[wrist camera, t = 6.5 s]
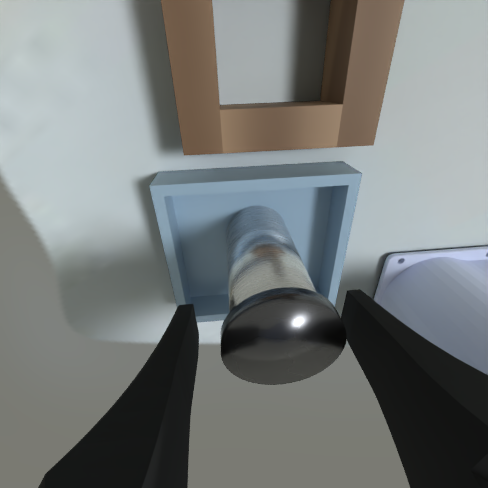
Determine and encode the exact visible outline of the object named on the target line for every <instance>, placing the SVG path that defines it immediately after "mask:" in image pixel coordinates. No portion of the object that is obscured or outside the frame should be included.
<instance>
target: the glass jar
mask: <svg viewBox="0 0 488 488" xmlns="http://www.w3.org/2000/svg"><path fill="white" fill-rule="evenodd" d="M226 249H227V269H228V290H229V310H230V313H229V314H228V315H227V317H226V318H225V320H224V322H223V325H222V328H221V357H222V361H223V363H224V365H225V366H226V368H227V369H228V370H229V371H230V372H231V373H233V374H234V375H235V376H237V377H239V378H241V379H243V380H246V381H249V382H252V383H258V384H268V385H269V384H270V385H276V384H286V383H292V382H296V381H300V380H303V379H306V378H309V377H311V376H313V375H315V374H317V373H319V372H321V371H322V370H324V369H325V368H327V367H328V366H330V365H331V364H332V363H333V362H334V361H335V360H336V359H337V358H338V356H339V355H340V354H341V352H342V351H343V349H344V346H345V344H346V339H347V338H346V329H345V326H344V324H343V322H342V320H341V318H340V316H339V314H338V312H337V310H336V309H335V307H334V305H333V304H332V303H331V302H330V301H329V300H328V299H327V298H326V297H324V296H323V295H321V294H319V293H317V292H316V290H315V288H314V285H313V283H312V281H311V279H310V277H309V275H308V272H307V270H306V268H305V266H304V264H303V261H302V259H301V257H300V255H299V253H298V251H297V248H296V246H295V244H294V242H293V240H292V237H291V235H290V233H289V231H288V229H287V227H286V224H285V222H284V220H283V218H282V217H281V215H280V214H279V213H277V212H276V211H275V210H273V209H271V208H269V207H265V206H251V207H247V208H244V209H242V210H240V211H239V212H237V213H236V214H235V215H234V216H233V217H232V218H231V220H230V221H229V223H228V225H227V228H226Z"/></svg>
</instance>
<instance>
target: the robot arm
mask: <svg viewBox="0 0 488 488" xmlns="http://www.w3.org/2000/svg"><path fill="white" fill-rule="evenodd" d="M399 259H400V260H399ZM398 260H399V261H398ZM341 320H342V322H343V324H344V326H345V329H346V338H347V341H348V343H349V345H350V347H351V349H352V351H353V353H354V355H355V356H356V358H357V360H358V362H359V364H360V366H361V368H362V370H363V371H364V374H365V376H366V378H367V379H368V381H369V383H370V385H371V387H372V389H373V391H374V393H375V395H376V398H377V400H378V402H379V404H380V407H381V409H382V412H383V414H384V417H385V419H386V422H387V424H388V427H389V429H390V432H391V435H392V437H393V440H394V442H395V445H396V448H397V451H398V453H399V456H400V459H401V462H402V464H403V467H404V470H405V473H406V476H407V478H408V482H409V485H410V488H488V246H484V247H471V248H458V249H446V250H433V251H420V252H407V253H394V254H391V255H389V256H388V257H387V258H386V260H385V264H384V267H383V270H382V273H381V277H380V280H379V283H378V287H377V290H376V293H375V296H374V300H373V299H372V298H370V297H369V296H368V295H366V294H365V293H364V292H362V291H361V290H349V291H347V294H346V298H345V303H344V307H343V311H342V316H341ZM198 347H199V332H198V327H197V322H196V316H195V311H194V305H193V304H184V305H179V306H178V307H177V310H176V312H175V314H174V316H173V318H172V320H171V322H170V324H169V326H168V328H167V329H166V331H165V333H164V335H163V336H162V338H161V340H160V342H159V343H158V345H157V347H156V348H155V350H154V351H153V353H152V354H151V356H150V357H149V359H148V360H147V362H146V364H145V365H144V367H143V368H142V369H141V371H140V372H139V373H138V375H137V376H136V378H135V379H134V380H133V381H132V383H131V384H130V386H129V387H128V388H127V389H126V390H125V392H124V393H123V394H122V396H121V397H120V398H119V399H118V400H117V401H116V403H115V404H114V405H113V406H112V407H111V408H110V409H109V411H108V412H107V413H106V414H105V415H104V416H103V417H102V418H101V419H100V420H99V421H98V423H97V424H96V425H95V426H94V427H93V428H92V429H91V430H90V431H89V432H88V433H87V434H86V435H85V436H84V437H83V439H81V441H79V443H77V444H76V445H75V446H74V447H73V448H72V449H71V450H70V451H69V452H68V453H67V454H66V455H65V456H64V457H63V458H62V459H61V460H60V461H59V462H58V463H57V464H56V465H55V466H54V467H52V468H51V469H50V470H49V471H48V472H47V473H46V474H45V476H44V478H43V480H42V482H41V484H40V485H39V487H38V488H187V482H188V454H189V432H190V415H191V406H192V398H193V391H194V383H195V376H196V369H197V361H198Z"/></svg>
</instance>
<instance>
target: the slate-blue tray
mask: <svg viewBox="0 0 488 488" xmlns="http://www.w3.org/2000/svg"><path fill="white" fill-rule="evenodd" d="M361 176H362V173H361V172H359V171H358V170H356V169H354V168H353V167H351V166H350V165H348V164H346V163H345V162H343V161H340V162H322V163H304V164H287V165H269V166H251V167H234V168H216V169H198V170H181V171H163V172H158V174H157V175H156V177H155V178H154V180H153V181H152V183H151V184H150V186H149V187H150V191H151V195H152V200H153V204H154V208H155V213H156V217H157V221H158V226H159V230H160V235H161V239H162V243H163V248H164V252H165V256H166V261H167V265H168V269H169V274H170V278H171V283H172V287H173V291H174V296H175V300H176V304H177V307H178V306H179V305H184V304H193V305H194V311H195V316H196V322H207V321H219V320H225V318H226V317H227V315H228V314H229V313H230V310H229V290H228V269H227V249H226V228H227V225H228V223H229V221H230V220H231V218H232V217H233V216H234V215H235V214H236V213H237V212H239V211H240V210H242V209H244V208H247V207H251V206H265V207H269V208H271V209H273V210H275V211H276V212H277V213H279V214H280V215H281V217H282V218H283V220H284V222H285V224H286V227H287V229H288V231H289V233H290V235H291V237H292V240H293V242H294V244H295V246H296V248H297V251H298V253H299V255H300V257H301V259H302V261H303V264H304V266H305V268H306V270H307V272H308V275H309V277H310V279H311V281H312V283H313V285H314V288H315V290H316V292H317V293H319V294H321V295H323V296H324V297H326V298H327V299H328V300H329V301H330V302H331V303H332V304H333V305H334V307H335V303H336V299H337V294H338V289H339V284H340V279H341V274H342V269H343V264H344V259H345V254H346V250H347V245H348V240H349V235H350V230H351V225H352V220H353V215H354V210H355V206H356V201H357V196H358V191H359V186H360V181H361Z"/></svg>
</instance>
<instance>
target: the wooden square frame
mask: <svg viewBox="0 0 488 488" xmlns="http://www.w3.org/2000/svg"><path fill="white" fill-rule="evenodd" d="M161 5H162V11H163V18H164V25H165V32H166V38H167V45H168V52H169V58H170V65H171V72H172V79H173V85H174V92H175V99H176V106H177V112H178V119H179V126H180V133H181V139H182V146H183V153H184V155H200V154H219V153H237V152H256V151H275V150H293V149H312V148H331V147H350V146H368V145H373V144H374V140H375V135H376V130H377V126H378V121H379V117H380V112H381V107H382V103H383V98H384V93H385V89H386V84H387V79H388V75H389V70H390V65H391V61H392V56H393V51H394V47H395V42H396V37H397V33H398V28H399V23H400V19H401V14H402V9H403V5H404V0H331V2H330V12H329V21H328V31H327V40H326V50H325V59H324V69H323V78H322V88H321V98H320V101H301V102H278V103H255V104H231V105H220V104H219V91H218V77H217V63H216V49H215V35H214V21H213V8H212V0H161Z"/></svg>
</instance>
